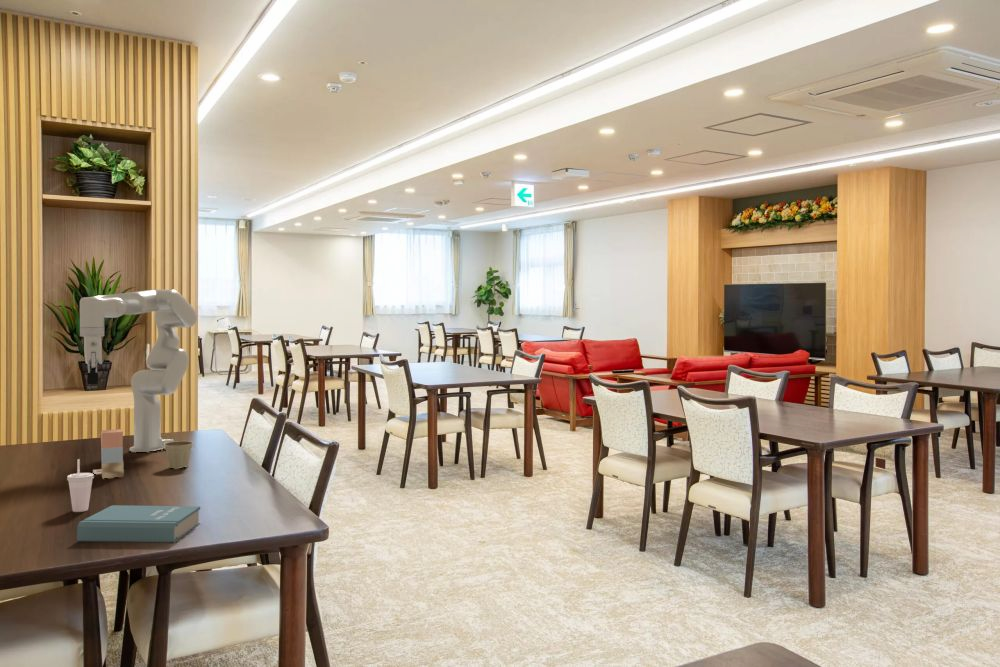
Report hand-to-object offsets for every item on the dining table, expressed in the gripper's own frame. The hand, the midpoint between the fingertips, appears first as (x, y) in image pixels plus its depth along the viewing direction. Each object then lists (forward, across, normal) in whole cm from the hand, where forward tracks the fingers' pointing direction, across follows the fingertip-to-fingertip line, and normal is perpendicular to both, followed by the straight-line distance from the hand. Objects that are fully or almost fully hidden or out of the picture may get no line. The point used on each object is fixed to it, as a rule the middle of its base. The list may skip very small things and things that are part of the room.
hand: (92, 383), depth 259 cm
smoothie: (+28, -66, +7) cm, 72 cm away
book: (+28, -97, -5) cm, 101 cm away
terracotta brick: (+18, -24, -4) cm, 30 cm away
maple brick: (+28, -24, -4) cm, 38 cm away
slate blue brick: (+24, -24, -4) cm, 34 cm away
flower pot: (+29, -20, -25) cm, 43 cm away
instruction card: (+29, -16, -4) cm, 33 cm away
